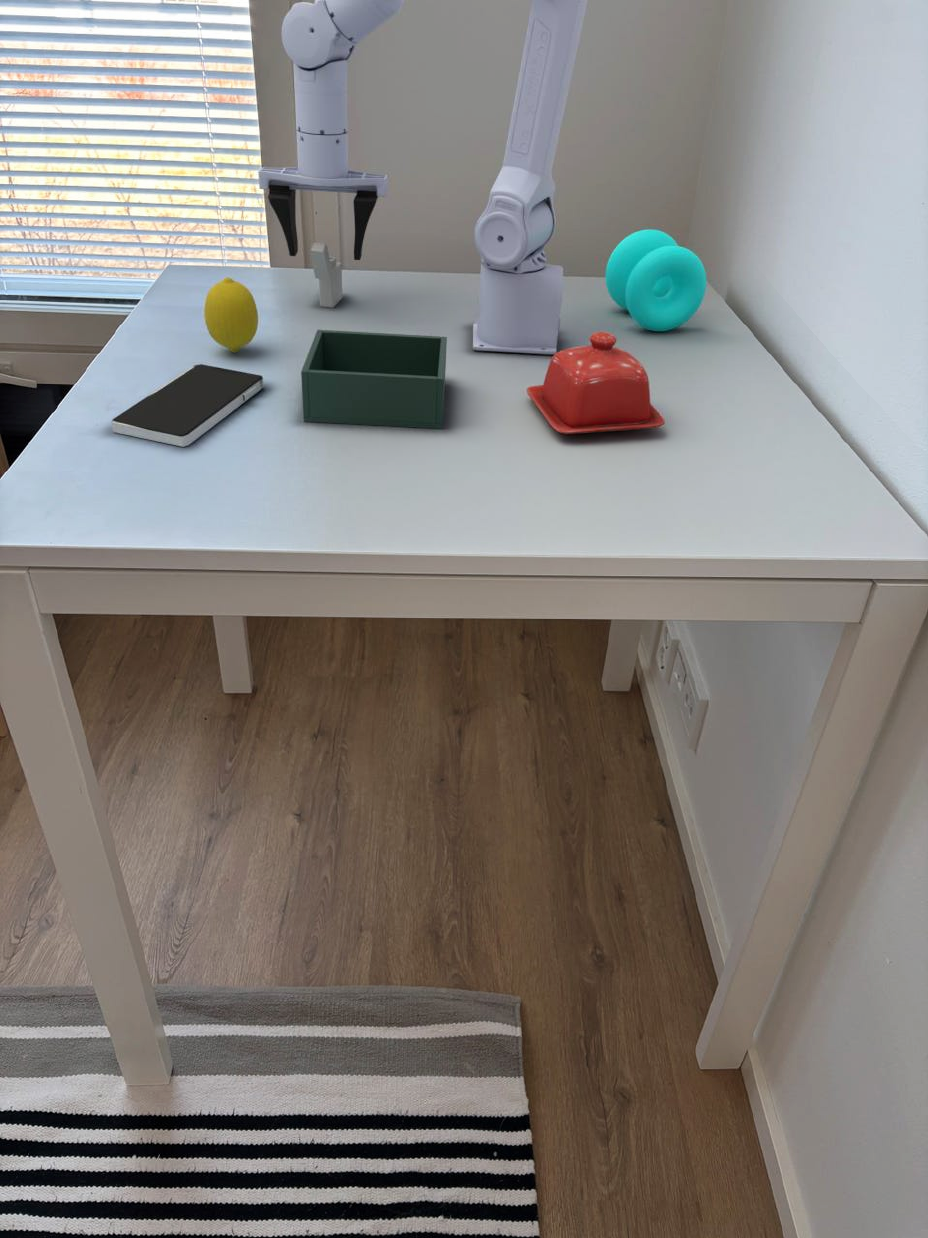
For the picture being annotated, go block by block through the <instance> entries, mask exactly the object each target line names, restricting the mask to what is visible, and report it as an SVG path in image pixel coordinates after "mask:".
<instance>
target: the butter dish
mask: <svg viewBox="0 0 928 1238" xmlns="http://www.w3.org/2000/svg"><path fill="white" fill-rule="evenodd" d="M589 341H590V343H591V345H583V346H575V347H570V348H566V349H563V350H559V351H556V354H553V356H552V357H551V359H550V361H549V364H548V366H547V370H546V374H545V377H544V380H543V384H538V385H530V386H528V387H527V388H526V390H525V391H526V394H527V395H528V397H529V398H530V400H531V401H532V402H533V403H534V405H535V406H536V407H537V409H538V410H539V411H540V412H541V414H542V415H543V416H544V418H545V420H546V422H548V424H549V426H551V427H552V428H553V429H554V431H556V432H558V433H560V434H566V435H570V434H571V435H572V434H590V433H591V434H592V433H603V432H604V433H605V432H617V431H631V430H632V431H633V430H641V429H654V428H659V427H662V426H664V425H665V423H666V422H665V419H664V417H663V416H662V415H661V414H660V412H659V411H658V410H657V409H656V408H655V407H654V406H653V405H652V404H651V395H650V394H651V393H650V391H651V390H650V381H649V375H648V373H647V370H646V369H645V368H644V366H643V365H642V364H641V362H640V361H639V360H638V359H637V358H635V356H633V355H632V354H630V353H629V352H628V351H626V350H624V349H621V348H619V347H615V344H617V338H616V337H615V335H613V334H612V333H610V332H605V331H597V332H594V333H592V334H591V335H590V337H589Z"/></svg>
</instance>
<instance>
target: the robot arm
mask: <svg viewBox="0 0 928 1238" xmlns="http://www.w3.org/2000/svg"><path fill="white" fill-rule="evenodd" d="M588 1H589V0H532V1H531V7H530V13H529V17H528V24H527V30H526V35H525V41H524V46H523V51H522V57H521V63H520V68H519V72H518V80H517V83H516V84H517V85H516V88H515V89H516V90H515V96H514V101H513V106H512V111H511V116H510V123H509V129H508V134H507V140H506V145H505V150H504V156H503V157H504V158H503V161H502V167H501V169H500V171H499V173H498V175H497V177H496V180H495V181H494V183H493V185H492V188H491V189H490V191H489V198H488V201H487V205H486V207H485V209H484V211H483V212H482V214H481V215H480V217H479V218H478V220H477V221H476V224H475V228H474V237H473V238H474V245H475V248H476V250H477V252H478V254H479V255H480V258H481V259H480V270H479V271H480V274H479V286H478V287H479V288H478V303H477V304H478V305H477V321H476V322H474V323H473V324H472V349H473V350H474V351H481V352H482V351H484V352H500V353H501V352H502V353H517V354H520V353H521V354H538V355H554V354H556V353H557V352H558V351H557V346H558V337H559V336H558V335H559V333H560V330H561V309H562V302H563V301H562V300H563V288H564V270H563V266H561V265H557V264H550V263H547V256H546V253H545V249H544V248H545V246H546V245H547V244H548V243H549V242H550V241H551V239H552V238H553V236H554V233H555V231H556V226H557V218H556V217H557V216H556V212H555V208H554V196H555V191H556V183H555V181H554V178H553V175H552V171H553V166H554V162H555V157H556V152H557V147H558V142H559V139H560V132H561V129H562V123H563V119H564V114H565V110H566V104H567V100H568V96H569V91H570V85H571V82H572V76H573V72H574V67H575V63H576V58H577V52H578V48H579V44H580V39H581V34H582V29H583V25H584V21H585V20H584V19H585V15H586V10H587V6H588ZM404 3H405V0H314V3H311V2H308V1H304V2H303V1H302V2H296V3H293V5H292V6H291V9H290V10H289V11H287V12H286V15H285V16H284V18H283V21H282V24H281V42H282V45H283V48H284V51H285V53H286V55H287V56H288V58H289V59H290V60H291V61H292V65H293V86H294V107H295V131H296V152H297V153H296V154H297V155H296V156H297V167H264V166H263V167H260V169H259V170H258V186H259V189H260V190H268V195H267V199H268V202H269V204H270V206H271V208H272V209H273V212H274V213H275V215H276V217H277V219H278V221H279V224H280V227H281V229H282V232H283V234H284V235H283V236H284V238H285V242H286V244H287V248H288V249H287V250H288V255H289V256H290V257H296V256H297V254H298V252H299V242H298V241H299V240H298V230H297V220H296V196H297V195H296V193H297V192H296V191H313V192H329V193H347V194H356V195H355V196H354V198H353V216H354V217H353V218H354V243H353V260H354V261H361V259H362V255H363V254H362V253H363V245H364V239H365V236H366V232H367V228H368V224H369V221H370V218H371V216H372V213H373V211H374V209H375V207H376V203H377V202H378V198H379V197H383V198H384V197H385V198H386V197H387V195H388V174H378V173H377V174H376V173H369V172H362V171H356V170H349V127H348V126H349V124H348V123H349V121H348V119H349V118H348V115H349V114H348V75H349V71H348V70H349V69H348V68H349V63H350V60H351V58H352V57H353V55H354V53H355V51H356V49H357V46H358V45H359V44H360V43H361V42H362V41H364V40H365V39H366V38H368V37H369V36H371V34H373V33H374V32H375V31H376V30H378V29H379V28H380V27H381V26H383V25H384V24H385V23H387V22H388V21H389V20H390V19H392V18H393V17H395V16H396V15H397V14H398V13H399V12H401V11H402V10H403V7H404Z"/></svg>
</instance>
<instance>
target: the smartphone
mask: <svg viewBox="0 0 928 1238" xmlns="http://www.w3.org/2000/svg"><path fill="white" fill-rule="evenodd" d="M264 387H265V385H264V378H263V375H261V374H255V373H251V372H250V373H249V372H244V371H239V370H234V369H229V368H224V367H218V366H213V365H207V364H202V363H200V364H195V365H193V366H191V367H190V368H188V369H187V370H185V371H184V372H182V373H180V374H179V375H178V376H176V377H175V378H173V379H172V380H170V381H169V382H167V383H166V384H164V385H163V386H161V387H159V388H158V389H157V390H155V391H153V392H152V393H150V394H149V395H147V396H146V397H144V398H142V399H141V400H139V401H138V402H137V403H135V404H134V405H132V406H130V407H129V408H128V409H125V411H123V412H121V413H120V414H119V415H117V416H116V417H114V418H113V419H112V420H111V427H112V431H113V433H116V434H121V435H126V436H130V437H135V438H139V439H144V440H150V441H154V442H160V443H163V444H167V445H172V446H178V447H187V446H190V445H191V444H192V443H193V442H195V441H196V440H197V439H199V438H200V437H201V436H202V435H204V434H205V433H207V432H208V431H209V430H210V429H212V428H213V427H214V426H216V425H217V424H218V423H220V422H221V421H222V420H223V419H224V418H226V417H227V416H229V414H231V413H232V412H234V411H235V410H236V409H238V408H239V407H240V406H242V405H243V404H245V402H247V401H248V400H249V399H250V398H252V397H253V396H255V395H256V394H257V393H258V392H260V391H261V390H263V389H264Z"/></svg>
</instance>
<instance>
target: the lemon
mask: <svg viewBox="0 0 928 1238" xmlns="http://www.w3.org/2000/svg"><path fill="white" fill-rule="evenodd" d="M204 301H205V302H204V309H203V310H204V312H203V313H204V321H205V325H206V326H205V327H206V329H207V331H208V334H209V336H210V337H211V338H212V340H214V342H215V343H217V344H218V345H220V346H222V347H224V348H227V349H228V350H229V351H230V352H231V353H238V352H239V351H240V350H241V348H242V347H246V346H247V345H248V344H250V343H251V342H252V341H253V339H254V338H255V336H256V334H257V331H258V325H259V315H258V308H257V305H256V301H255V298H254V296H253V294H252V293H251V291H250V290H249V289H248V287H246V286H245V285H244V284H242V283H241V282H240V281H239V282H238V281H236V280H233V278H232V277H224V279H223V280H221V281H219V282H217V283H215V284H214V285H213V286H212V287H211V288H210V289H209V290H208V292H207V295H206V298H205V300H204Z"/></svg>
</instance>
